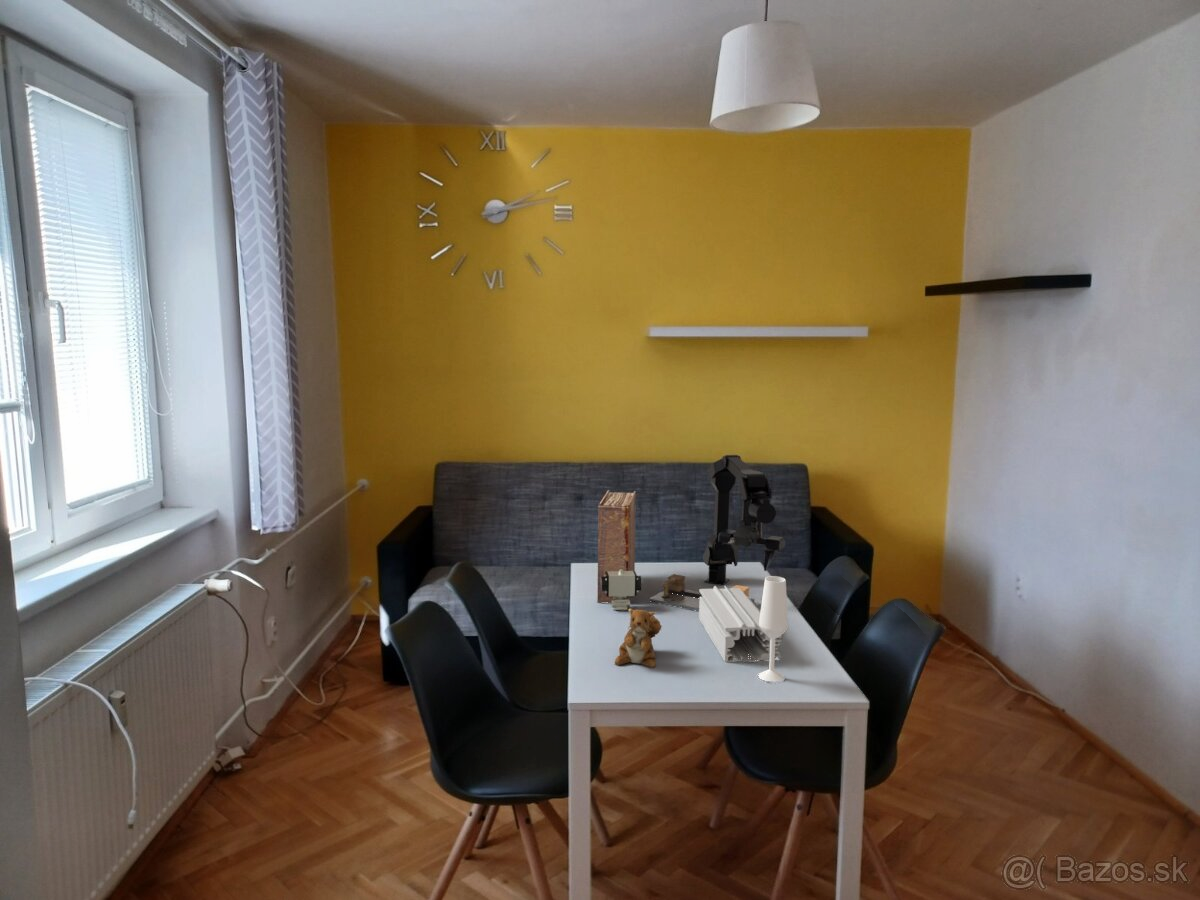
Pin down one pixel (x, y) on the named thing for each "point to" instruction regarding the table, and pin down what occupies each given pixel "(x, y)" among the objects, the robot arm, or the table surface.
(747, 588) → the sliding leg
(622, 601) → the pneumatic valve
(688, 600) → the bolt-hole strip
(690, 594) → the rail
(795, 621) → the table surface
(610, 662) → the table surface
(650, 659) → the stuffed squirrel
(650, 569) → the table surface
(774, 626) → the champagne flute
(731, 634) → the aluminum extrusion profile
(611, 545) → the book
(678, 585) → the fixed leg
